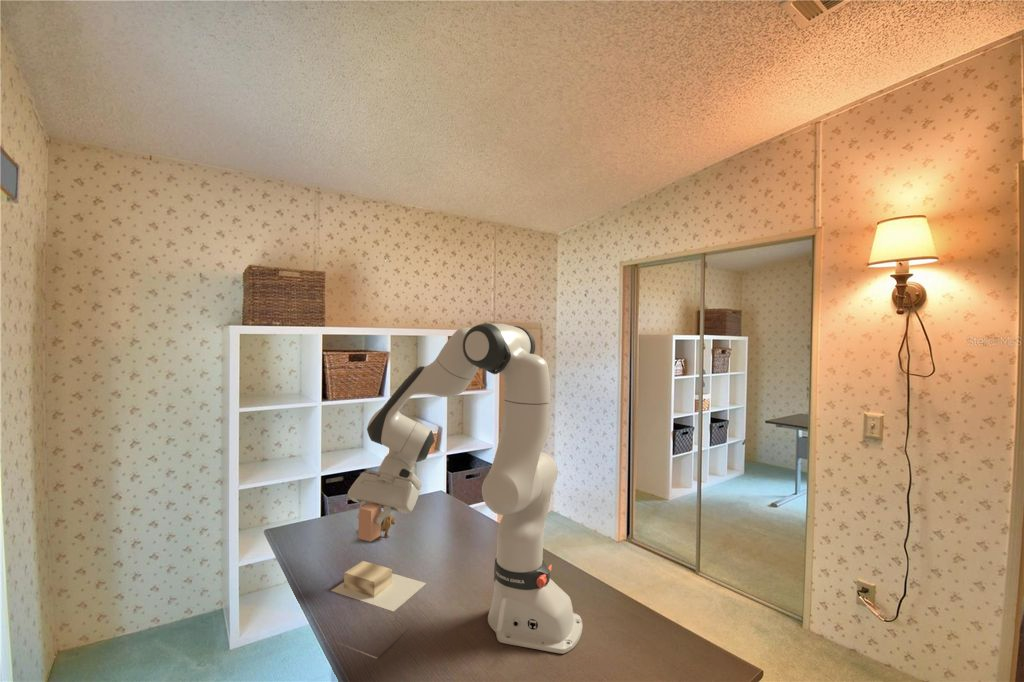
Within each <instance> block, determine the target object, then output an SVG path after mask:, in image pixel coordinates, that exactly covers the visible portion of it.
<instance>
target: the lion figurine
mask: <svg viewBox="0 0 1024 682" xmlns="http://www.w3.org/2000/svg"><path fill="white" fill-rule="evenodd" d="M382 512H383V511H382V510H381V513H382ZM397 521H398V519H397V518H395V516H393V515H392V512H391V513H390V515H388V516H387V517H386V518H385V519H383V521H382V523H381V532H384V538H385V539H389V538H390V535H388V533H389V531H390V529H391V528H392V525H393V526H395V524H396V522H397ZM377 541H382V534H381V535H380V536H379V537H377Z"/></svg>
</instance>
